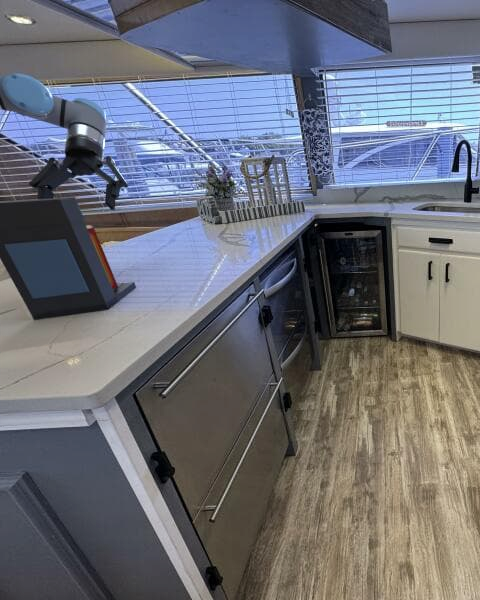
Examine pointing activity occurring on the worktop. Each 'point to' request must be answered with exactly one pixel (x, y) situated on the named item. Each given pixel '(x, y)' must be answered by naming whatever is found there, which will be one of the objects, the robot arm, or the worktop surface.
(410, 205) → the worktop surface
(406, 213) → the worktop surface
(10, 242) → the slanted screen kiosk
